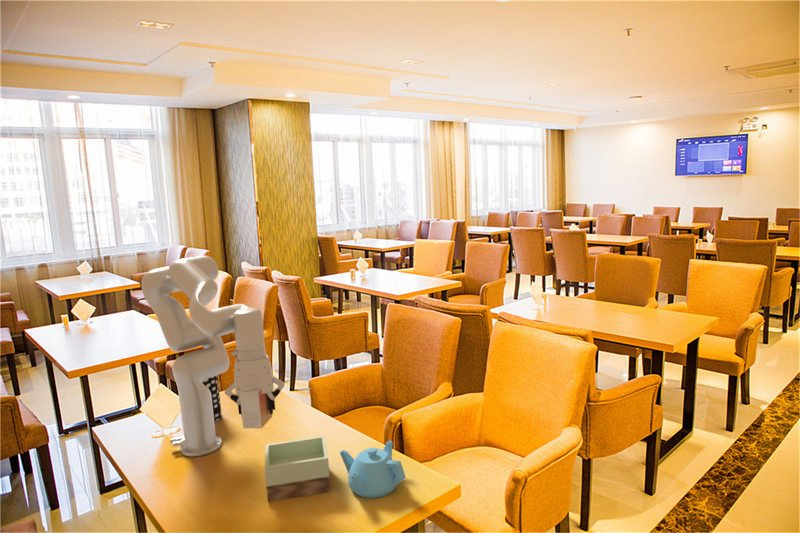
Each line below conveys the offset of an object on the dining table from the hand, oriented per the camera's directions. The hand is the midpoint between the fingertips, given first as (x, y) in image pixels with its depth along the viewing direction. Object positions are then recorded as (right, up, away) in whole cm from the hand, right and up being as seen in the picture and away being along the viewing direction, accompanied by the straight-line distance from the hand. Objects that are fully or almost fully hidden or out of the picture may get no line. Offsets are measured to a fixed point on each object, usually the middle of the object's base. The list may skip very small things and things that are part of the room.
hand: (257, 413), depth 150 cm
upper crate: (+11, -15, -1) cm, 19 cm away
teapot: (+33, -19, -2) cm, 38 cm away
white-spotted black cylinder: (-29, -14, +45) cm, 56 cm away
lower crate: (+11, -20, 0) cm, 23 cm away
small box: (0, -3, 0) cm, 3 cm away
